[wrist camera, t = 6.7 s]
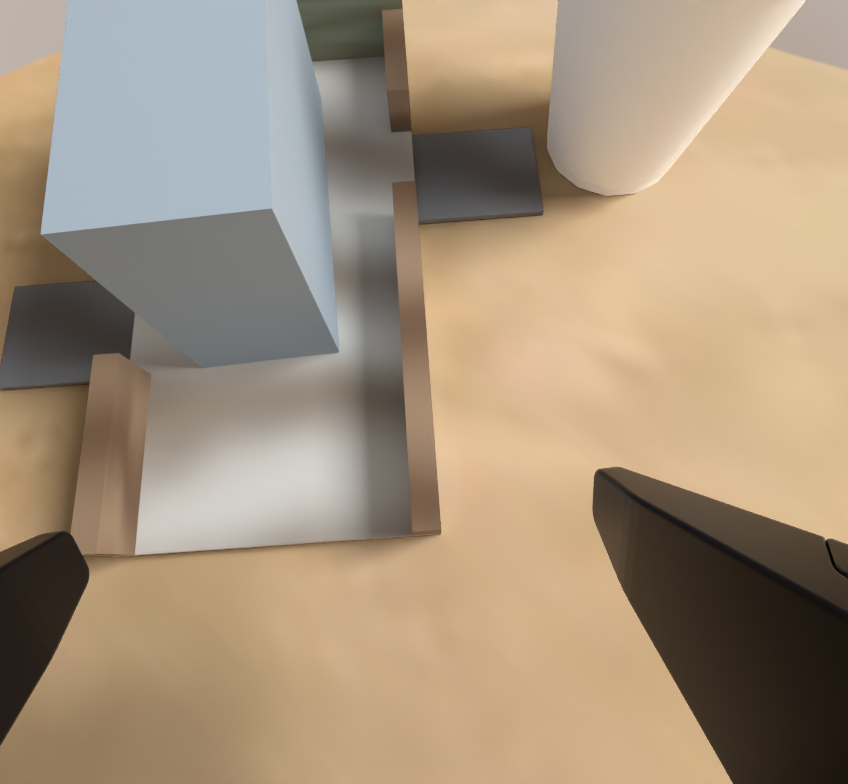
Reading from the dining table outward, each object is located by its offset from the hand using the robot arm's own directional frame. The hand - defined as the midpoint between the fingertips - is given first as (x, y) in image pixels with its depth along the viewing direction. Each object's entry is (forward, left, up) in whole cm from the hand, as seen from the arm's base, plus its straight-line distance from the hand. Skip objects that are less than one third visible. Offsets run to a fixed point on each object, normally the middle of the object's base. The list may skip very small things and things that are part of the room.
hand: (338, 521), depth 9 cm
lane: (+9, +10, -13) cm, 19 cm away
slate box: (+10, +12, -12) cm, 20 cm away
